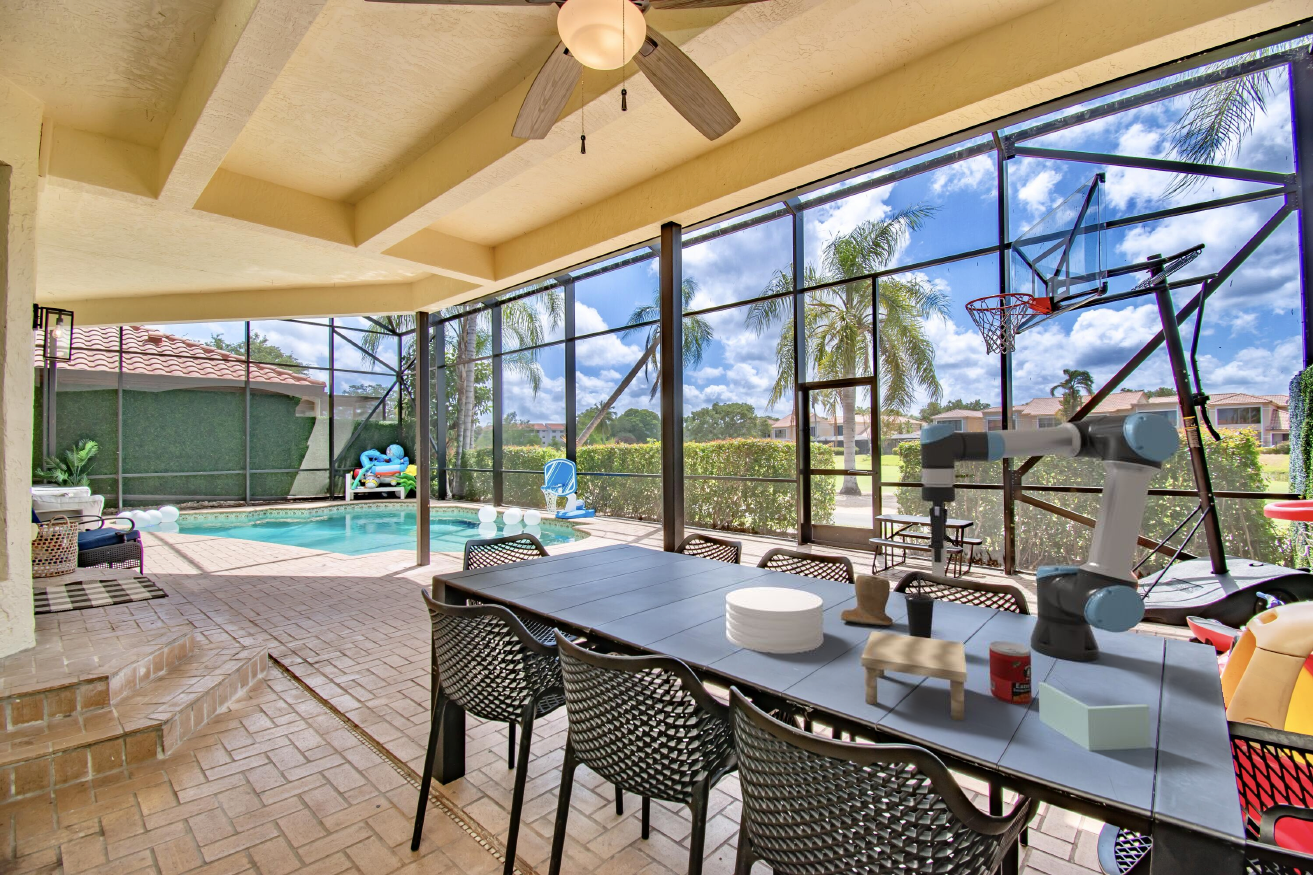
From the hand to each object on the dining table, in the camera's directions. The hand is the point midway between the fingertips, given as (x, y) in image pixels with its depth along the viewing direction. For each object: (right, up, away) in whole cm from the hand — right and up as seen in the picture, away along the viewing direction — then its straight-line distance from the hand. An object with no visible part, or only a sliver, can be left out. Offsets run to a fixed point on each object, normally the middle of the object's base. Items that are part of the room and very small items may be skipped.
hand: (939, 570), depth 142 cm
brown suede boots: (-4, -26, +39) cm, 47 cm away
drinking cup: (+3, -25, +16) cm, 30 cm away
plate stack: (-36, -26, +25) cm, 51 cm away
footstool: (-13, -24, -15) cm, 31 cm away
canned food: (+7, -24, -17) cm, 30 cm away
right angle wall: (+13, -24, -33) cm, 43 cm away
